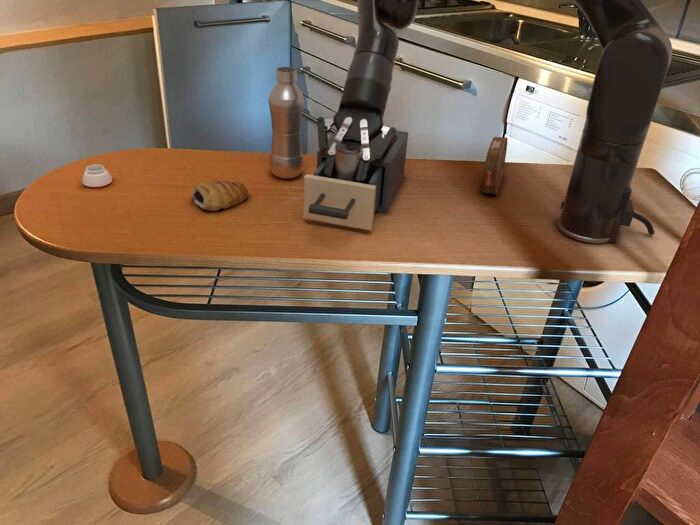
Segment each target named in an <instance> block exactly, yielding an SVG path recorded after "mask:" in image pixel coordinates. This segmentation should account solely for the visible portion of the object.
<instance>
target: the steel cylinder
mask: <svg viewBox="0 0 700 525" xmlns="http://www.w3.org/2000/svg"><path fill="white" fill-rule="evenodd" d="M361 153H362V145H361V144H359V143H357V142H352V141H343V142H339V143H337V144H336V145H335V175H334V179H339V180H345V181H351V182H356V177H357V172H358V168H359V164H360V161H361Z"/></svg>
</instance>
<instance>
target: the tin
mask: <svg viewBox="0 0 700 525" xmlns="http://www.w3.org/2000/svg"><path fill="white" fill-rule="evenodd" d="M507 149H508V137H502V136H494V137H493V138H492V140H491V143H490V145H489V147H488V151H487V153H486V156H485V157H486V158H485V163H484V176H483V177H484V178H483V184H482V187H481V188H482V193H484V194H490V195H495V196H496V195H498V191H499V188H500V185H501V183H502V180H503V175H504V170H505V165H506V164H505V163H506V157H507Z"/></svg>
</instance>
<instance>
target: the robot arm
mask: <svg viewBox="0 0 700 525" xmlns="http://www.w3.org/2000/svg"><path fill="white" fill-rule="evenodd" d="M571 1H572V2H573V3H574V4H575V5H576V6H577V7H578V9H579V10H580V11H581V12H582V14H583V15H584V16H585V18H586V19H587V21H588V23H589V25H590V27H591V29H592V31H593V33H594V34H595V37H596V39H597V41H598V44H599V45H600V48H601V50H602V52H601V55H600V57H599V60H598V64H597V67H596V70H595V74H594V78H593V81H592V82H593V83H592V86H591V90H590V95H589V99H588V102H587V106H586V111H585V121H584V125H583V129H582V132H581V136H580V140H579V143H578V148H577V151H576V154H575V158H574V162H573V166H572V170H571V174H570V178H569V181H568V185H567V190H566V193H565V197H564V200H563V201H562V202H561V203H560V207H559V210H561V211H560V213H559V214H560V215H559V218H558V220H557V225H556V226H557V228H558V230H559V231H560V232H561V233H562V234H564V235H565V236H567V237H569V238H571V239H573V240H576V241H579V242H582V243H588V244H597V245H598V244H607V243H611V244H615V243H616V242H617V239H618V235H619V232H620V230H621V226H624V227H629V228H630V227H631V224H632V221H633V219H634V220H637V221H639V222H641V223H642V224H643V225H644V226H645V227H646V230H647V233H648V235H649V236H653V235H655V230H654V226H653V224H652V223H651V221H650V220H649V219H647V218H646V217H645V216H643V215H641V214H640V213H637V212H636V211H635V210H634V204H633V201H632V199H631V196H632V192H633V189H632V186H631V185H632V181H633V179H634V176H635V172H636V169H637V167H638V163H639V161H640V157H641V154H642V151H643V147H644V144H645V142H646V139H647V135H648V133H649V130H650V127H651V124H652V120H653V116H654V113H655V110H656V107H657V104H658V101H659V97H660V95H661V91H662V89H663V85H664V82H665V79H666V76H667V73H668V70H669V68H670V65H671V62H672V59H673V44H672V42H671V39H670V37H669V35H668V34H667V32H666V31H665V30H664V28H663V27H662V26H661V24H660V23H659V21H658V20H657V19H656V18H655V16H654V15H653V14H652V13H651V12H650V11H651V10H649V8H648V7H647V6H646V4H645V2H643V0H571ZM419 4H420V0H357V19H358V32H357V34H358V35H357V41H356V45H355V49H354V52H353V56H352V60H351V63H350V65H349V67H348V71H347V73H346V74H347V75H346V78H345V82H344V86H343V90H342V94H341V97H340V102H339V106H338V109H337V112H336V113H335V114H334V116H333V117H330V118H324V117H323V116H318V117H317V119H316V127H317V128H316V129H317V140H318V141H317V142H318V143H317V144H318V150H319V149H320V151H321V153H322V155H323V156H327V157H328V158H327V162H326V166H325V170H324V173H325V176H326V177H327V178H333V179H334V175H335V145H336V144H337V143H339V142H343V141H352V142H357V143H359V144H361V145H362V156H363V159H362V161H360V164H359V168H358V172H357V177H356V182H357V183H363V184H365V183H366V181H367V177H368V173H369V169H370V166H371V165H373V164H379V165H380V164H382V163H383V161H384V160H385V158H386V156H387V155H388V153H389V151H390V150H391V148H392V146H393V144H394V143H395V141H396V139H397V131H398V130H397V128H396V127H394V126H391V127H389V126H386V125H384V116H385V111H386V107H387V102H388V99H389V96H390V93H391V89H392V81H393V71H394V67H395V63H396V58H397V55H398V50H399V44H400V42H399V37H398V35H397V34H396V33H395V31H393V30H398V31H399V30H400V31H402V30H405V29H407V28H408V27H410V26H411V24H412V23H413V22H414V21H415V19H416V16H417V13H418V9H419ZM392 29H393V30H392ZM333 127H335V129H336V130H337V131H338V133H337V135H336V137H335V138H334V142H333V144H332V146H331V147H328V139H329V136H328V133H331V131H332V128H333ZM381 132H382V133H383V134H382V138H383V140H382V142H381V144H380V146H379V147H378V149H377V151H376V152H375V153H374V154H371V141H372V140H373V139H375V138H376V137H377V136H378V135H379V134H380V133H381Z"/></svg>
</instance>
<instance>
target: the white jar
mask: <svg viewBox="0 0 700 525" xmlns="http://www.w3.org/2000/svg"><path fill="white" fill-rule="evenodd" d="M81 178H82V179H81V183H82V184H83V186H85V187H89V188H101V187H105V186H107V185H110V184H111V183H112V182H113V176H112V175H111V173H110V172H109V170H107V169H106V168H105V166H104V165H102V164H96V163H95V164H90V165H88V166H86V168H85V171H84V173H83V176H82V177H81Z"/></svg>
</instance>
